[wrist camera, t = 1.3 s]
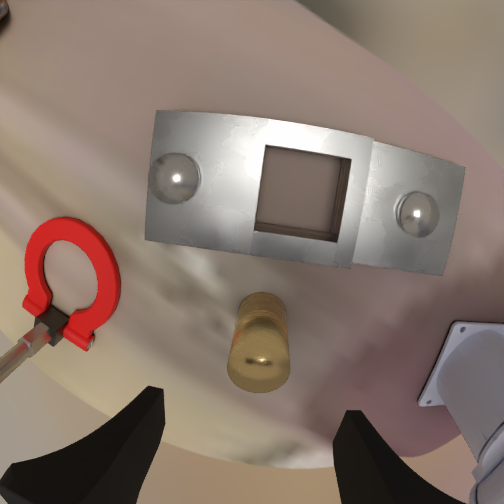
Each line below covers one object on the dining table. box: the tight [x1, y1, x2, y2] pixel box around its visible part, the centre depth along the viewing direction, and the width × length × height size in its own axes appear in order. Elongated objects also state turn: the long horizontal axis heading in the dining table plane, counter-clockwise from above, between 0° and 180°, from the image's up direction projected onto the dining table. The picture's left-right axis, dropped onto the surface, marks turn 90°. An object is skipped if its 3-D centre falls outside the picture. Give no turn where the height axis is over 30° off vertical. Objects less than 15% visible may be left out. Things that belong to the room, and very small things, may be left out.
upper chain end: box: [145, 110, 374, 269], centre depth 17 cm, size 11×7×3 cm, turn 82°
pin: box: [227, 292, 290, 393], centre depth 17 cm, size 3×3×6 cm
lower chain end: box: [255, 141, 465, 276], centre depth 17 cm, size 13×7×2 cm, turn 82°
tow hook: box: [0, 217, 121, 383], centre depth 15 cm, size 8×13×9 cm
